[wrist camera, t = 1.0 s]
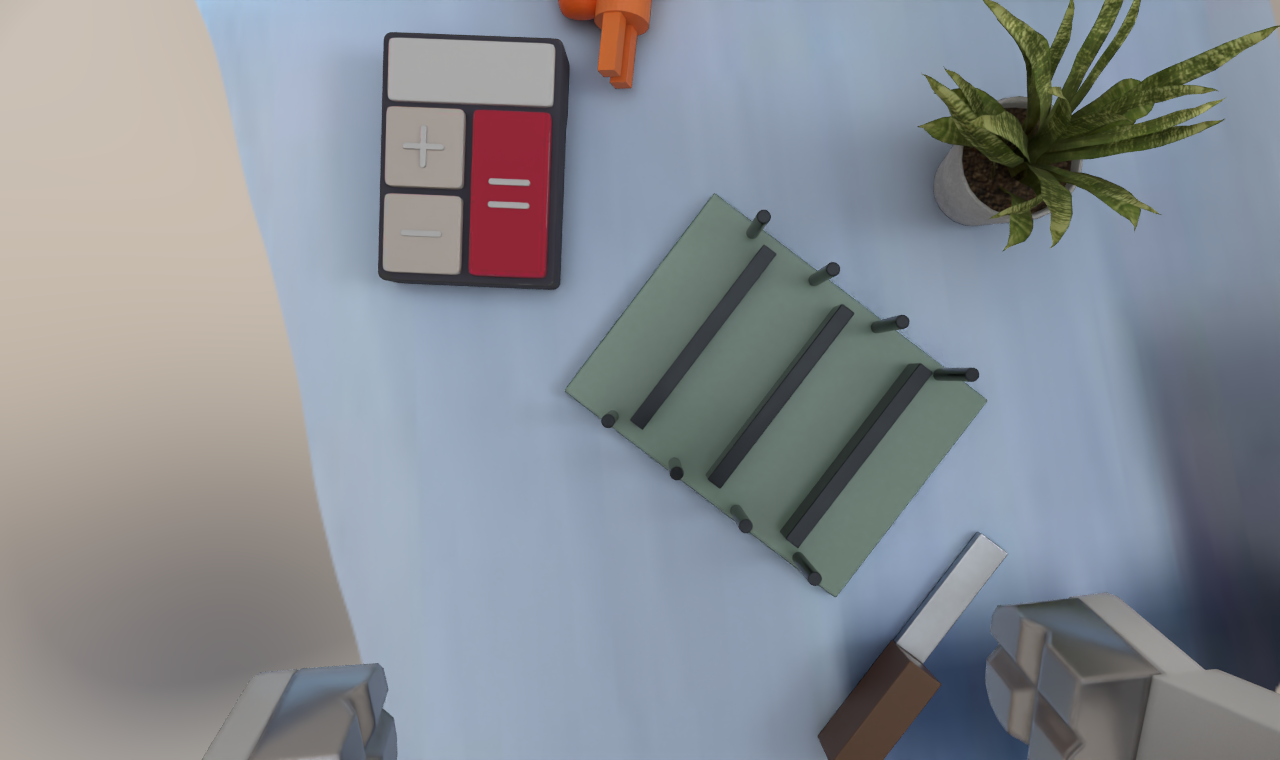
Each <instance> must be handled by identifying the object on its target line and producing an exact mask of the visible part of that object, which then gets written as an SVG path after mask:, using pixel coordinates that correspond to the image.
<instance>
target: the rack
mask: <svg viewBox="0 0 1280 760" xmlns="http://www.w3.org/2000/svg"><path fill="white" fill-rule="evenodd" d="M770 218H771V215H770V213H769V212H768V211H767V210H761V211H759V212H758V214H757V215H756V217H755V218H754V220H753V221H751V220H749V219H748V218H747V217H745V216H744V215H743V214H741V213H740V212H739V211H737V210H736V209H735V208H734V207H732V206H731V205H730V204H728V203H727V202H726V201H724V200H723V199H722V198H720V197H719V196H718V195H716V194H713V196H712V197H711V198H710V199H709V201H708V202H707V203H706V205H705V206H704V207H703V209H702V210H701V211H700V213H699V214H698V215H697V217H696V218H695V219H694V221H693V222H692V223H691V224H690V226H689V227H688V228H687V230H686V231H685V232H684V234H683V235H682V236H681V238H680V239H679V240H678V242H677V243H676V244H675V246H674V247H673V248H672V249H671V251H670V252H669V253H668V255H667V256H666V257H665V259H664V260H663V261H662V263H661V264H660V265H659V267H658V268H657V269H656V271H655V272H654V273H653V274H652V276H651V277H650V278H649V280H648V281H647V282H646V284H645V285H644V286H643V288H642V289H641V290H640V292H639V293H638V294H637V296H636V297H635V298H634V299H633V301H632V302H631V303H630V305H629V306H628V307H627V309H626V310H625V311H624V313H623V314H622V315H621V317H620V318H619V319H618V321H617V322H616V323H615V324H614V326H613V327H612V328H611V330H610V331H609V332H608V334H607V335H606V336H605V338H604V339H603V340H602V342H601V343H600V344H599V346H598V347H597V348H596V349H595V351H594V352H593V353H592V355H591V356H590V357H589V359H588V360H587V361H586V363H585V364H584V365H583V367H582V368H581V369H580V371H579V372H578V373H577V374H576V376H575V377H574V378H573V380H572V381H571V382H570V384H569V385H568V386H567V388H566V389H565V392H566V393H568V394H569V395H570V396H572V397H573V398H574V399H576V400H577V401H578V402H579V403H581V404H582V405H583V406H585V407H586V408H587V409H589V410H590V411H591V412H593V413H594V414H595V415H597V416H598V417H599V418H600V419H601V423H602V425H603V426H604V427H606V428H610V427H612V428H614V429H615V430H616V431H617V432H619V433H620V434H621V435H623V436H624V437H625V438H627V439H628V440H629V441H631V442H632V443H633V444H635V445H636V446H637V447H638V448H640V449H641V450H642V451H644V452H645V453H646V454H648V455H649V456H650V457H652V458H653V459H654V460H655V461H657V462H658V463H659V464H661V465H662V466H663V467H665V468H666V469H667V470H669V471H670V476H671V478H672V479H674V480H682V481H683V482H684V483H686V484H687V485H688V486H690V487H691V488H692V489H693V490H695V491H696V492H697V493H699V494H700V495H701V496H703V497H704V498H705V499H707V500H708V501H709V502H711V503H712V504H713V505H714V506H716V507H717V508H718V509H720V510H721V511H722V512H724V513H725V514H726V515H728V516H729V517H730V518H731V519H733V520H734V521H735V522H736V524H737V525H738V527H739V529H740V530H741V531H742V532H743V533H748V532H750V533H751V534H752V535H754V536H755V537H756V538H758V539H759V540H760V541H762V542H763V543H764V544H766V545H767V546H768V547H769V548H771V549H772V550H773V551H775V552H776V553H777V554H779V555H780V556H781V557H783V558H784V559H785V560H787V561H788V562H789V563H790V564H792V565H793V566H794V567H796V568H797V569H798V570H800V571H801V573H802V574H803V575H804V576H805V578H806V579H807V580H808V582H809V583H810V584H811V585H814V586H816V585H819V586H821V587H822V588H823V589H825V590H826V591H827V592H828V593H830V594H831V595H832V596H834V597H837V595H838V594H839V593H840V592H841V590H842V589H843V588H844V586H845V585H846V584H847V582H848V581H849V580H850V579H851V577H852V576H853V575H854V573H855V572H856V571H857V569H858V568H859V567H860V566H861V564H862V563H863V562H864V560H865V559H866V558H867V556H868V555H869V554H870V553H871V551H872V550H873V549H874V547H875V546H876V545H877V543H878V542H879V541H880V540H881V538H882V537H883V536H884V534H885V533H886V532H887V531H888V529H889V528H890V527H891V525H892V524H893V523H894V521H895V520H896V519H897V518H898V516H899V515H900V514H901V512H902V511H903V510H904V508H905V507H906V506H907V505H908V503H909V502H910V501H911V499H912V498H913V497H914V495H915V494H916V493H917V492H918V490H919V489H920V488H921V486H922V485H923V484H924V483H925V481H926V480H927V479H928V477H929V476H930V475H931V473H932V472H933V471H934V470H935V468H936V467H937V466H938V464H939V463H940V462H941V460H942V459H943V458H944V457H945V455H946V454H947V453H948V451H949V450H950V449H951V447H952V446H953V445H954V444H955V442H956V441H957V440H958V438H959V437H960V436H961V435H962V433H963V432H964V431H965V429H966V428H967V427H968V425H969V424H970V423H971V422H972V420H973V419H974V418H975V416H976V415H977V414H978V412H979V411H980V410H981V409H982V407H983V406H984V405H985V403H986V402H987V399H985V398H984V397H983V396H981V395H980V394H979V393H977V392H976V391H975V390H974V389H972V388H971V387H970V386H968V385H967V384H966V383H964V382H963V381H968V382H973V381H976V380H977V379H978V377H979V372H978V370H977V369H975V368H944V367H943V366H942V365H941V364H939V363H938V362H937V361H935V360H934V359H933V358H931V357H930V356H929V355H927V354H926V353H925V352H923V351H922V350H921V349H919V348H918V347H917V346H915V345H914V344H913V343H912V342H910V341H909V340H908V339H906V338H905V337H904V336H902V335H901V334H900V333H898V332H897V331H896V330H899V329H904V328H906V327H908V325H909V319H908V317H907V316H905V315H899V316H895V317H891V318H887V319H883V320H881V319H880V318H879V317H877V316H876V315H875V314H873V313H872V312H871V311H869V310H868V309H867V308H865V307H864V306H863V305H861V304H860V303H859V302H857V301H856V300H855V299H854V298H852V297H851V296H850V295H848V294H847V293H846V292H844V291H843V290H842V289H840V288H839V287H838V286H836V285H835V284H834V283H832V282H831V281H830V280H829V279H831V278H832V277H834V276H836V275H838V274H839V272H840V267H839V265H838V264H837V263H835V262H831V263H829V264H828V265H826V266H824V267H823V268H821V269H820V270H818V271H817V270H815V269H814V268H813V267H811V266H810V265H809V264H807V263H806V262H805V261H803V260H802V259H801V258H799V257H798V256H797V255H795V254H794V253H793V252H792V251H790V250H789V249H788V248H786V247H785V246H784V245H782V244H781V243H780V242H778V241H777V240H776V239H774V238H773V237H772V236H770V235H769V234H768V233H766V232H765V231H764V230H763V229H764V227H765V226H766V225H767V223H768V222H769V221H770Z"/></svg>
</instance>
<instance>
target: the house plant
mask: <svg viewBox="0 0 1280 760" xmlns="http://www.w3.org/2000/svg"><path fill="white" fill-rule="evenodd" d="M983 1H984V3H985V4H986V5H987V6H988V7H989V8H990V10H991V11H992V12H993V13H994V15H995V16H996V17H997V18H998V19H997V20H998V21H999V22H1000V23H1001V24H1002V25H1003V27H1004V28H1005V29H1006V30H1007V31H1008V32H1009V34H1010V35H1011V36H1012V37H1013V38H1014V40H1015V41H1016V43H1017V44H1018V46H1019V48H1020V50H1021V52H1022V55H1023V57H1024V60H1025V63H1026V70H1027V97H1021V96H1018V97H1011V98H1004V99H1001V100H999V101H996V100H995V99H994V98H993V97H991V96H990V95H989V94H987V93H986V92H984V91H982V90H980V89H978V88H975V87H973V86H972V85H971V84H970V83H968V82H967V81H965V80H964V79H963V78H962V77H961V76H960V75H958V74H957V73H955V72H953V71H949V70H947V69H945V70H946V72H947V73H948V74H949V75H950V77H951V78H952V79H953V80H954V82H955V83H956V84H957V85H958V86H959V88H958V89H952V90H950V89H949V88H947V87H946V86H944V85H942V84H941V83H939V82H938V81H936V80H935V79H933V78H932V77H929V76H927V75H924V74H922V75H924V76H926V78H927V80H928V82H929V84H930V86H931V88H932V89H933V91H934V92H935V94H937V95H938V96H939V97H940V98H941V99H942V101H943V102H944V103H945V104H946V105H947V107H948V109H949V111H950V114H951V117H943V118H940V119H937V120H934V121H931V122H929V123H926V124H924V125H921V126H918V127H921V128H924V129H925V130H926V131H927V132H928V133H929V134H930V135H931V136H932V137H933V138H935V139H937V140H939V141H941V142H945V143H948V144H953V147H952V148H951V150H950V151H949V153H948V154H947V156H946V157H945V158H944V160H943V161H942V163H941V164H940V166H939V167H938V170H937V172H936V175H935V178H934V194H935V199H936V201H937V203H938V206H939V207H940V209H941V210H942V211H943V212H944V214H945V215H946V216H948V217H949V218H950V219H952V220H953V221H955V222H957V223H960V224H963V225H969V226H980V225H990V224H999V223H1009V222H1010V236H1009V240H1008V244H1007V246H1006V247H1005V249H1004V250H1006V249H1007V248H1009V247H1010V246H1013V245H1016V244H1019V243H1021V242H1024V241H1025V240H1026V239H1027V238H1028V237H1029V236H1030V234H1031V232H1032V229H1033V219H1038V218H1040V217H1042V216H1045V215H1047V214H1049V213H1051V225H1050V231H1051V235H1052V240H1053V245H1052V246H1051V248H1052V247H1053V246H1055V245H1056V244H1057V243H1058V242H1059V240H1060V239H1061V237H1062V236H1063V235H1064V233H1065V232H1066V230H1067V229H1068V227H1069V224H1070V221H1071V217H1072V195H1071V193H1072V192H1073V191H1074V189H1075V187H1076V186H1077V187H1080V188H1082V189H1085V190H1087V191H1089V192H1090V193H1092V194H1093V195H1095V196H1096V197H1097V198H1099V199H1100V200H1101V201H1103V202H1104V203H1105V204H1107V205H1108V206H1109V207H1111V208H1112V209H1113V210H1115V211H1116V212H1117V213H1119V214H1120V215H1122V216H1124V217H1125V218H1127V219H1128V220H1130V221H1131V223H1132V224H1133V225H1134V226H1135V229H1136V226H1137V223H1138V219H1139V216H1140V212H1141V209H1140V208H1142V209H1145V210H1148V211H1150V212H1153V213H1156V214H1159V213H1158V212H1156V211H1155V210H1154V209H1152V208H1151V207H1149V206H1148V205H1146V204H1144V203H1142V202H1140V201H1138V200H1137V199H1136V198H1135V197H1134V196H1133V195H1132V194H1131V193H1130V192H1128V191H1127V190H1126V189H1124V188H1122V187H1120V186H1118V185H1116V184H1114V183H1112V182H1109V181H1107V180H1104V179H1102V178H1099V177H1096V176H1092V175H1089V174H1086V173H1081V170H1082V162H1083V159H1094V158H1100V157H1106V156H1111V155H1115V154H1120V153H1126V152H1134V151H1142V150H1147V149H1152V148H1156V147H1160V146H1164V145H1167V144H1170V143H1173V142H1176V141H1178V140H1181V139H1184V138H1186V137H1189V136H1192V135H1194V134H1197V133H1199V132H1201V131H1203V130H1205V129H1207V128H1209V127H1211V126H1213V125H1216V124H1218V123H1220V122H1221V121H1223V120H1224V119H1223V120H1219V121H1206V122H1202V123H1198V124H1194V125H1191V126H1175V125H1178V124H1180V123H1183V122H1185V121H1187V120H1189V119H1192V118H1194V117H1196V116H1198V115H1200V114H1202V113H1204V112H1205V111H1207V110H1209V109H1210V108H1211V107H1213V106H1215V105H1216V104H1218V103H1219V102H1221V101H1222V100H1223V99H1222V100H1217V101H1213V102H1208V103H1206V104H1203V105H1201V106H1198V107H1196V108H1190V109H1185V110H1180V111H1176V112H1173V113H1170V114H1168V115H1165V116H1162V117H1159V118H1156V119H1153V120H1149V121H1146V122H1142V123H1138V124H1134V123H1135V121H1136V120H1137V119H1139V118H1141V117H1144V116H1146V115H1147V114H1148V113H1149V112H1150V111H1151V110H1152V108H1153V106H1154V103H1158V102H1163V101H1166V100H1169V99H1173V98H1176V97H1180V96H1183V95H1187V94H1204V93H1208V92H1211V91H1215V90H1216V89H1213V88H1207V87H1202V86H1197V85H1183V84H1185V83H1187V82H1190V81H1192V80H1194V79H1196V78H1198V77H1201V76H1203V75H1205V74H1207V73H1210V72H1212V71H1214V70H1216V69H1217V68H1219V67H1220V66H1222V65H1223V64H1225V63H1226V62H1228V61H1229V60H1231V59H1232V58H1234V57H1235V56H1236V55H1238V54H1239V53H1241V52H1242V51H1243V50H1245V49H1247V48H1249V47H1251V46H1253V45H1255V44H1256V43H1258V42H1260V41H1262V40H1264V39H1265V38H1266V37H1268V36H1269V35H1270V34H1271V33H1272V32H1273V31H1274V30H1275V29H1276V28H1278V27H1279V26H1274V27H1270V28H1267V29H1264V30H1261V31H1257V32H1254V33H1251V34H1248V35H1245V36H1243V37H1240V38H1238V39H1235V40H1232V41H1229V42H1227V43H1224V44H1222V45H1220V46H1217V47H1215V48H1213V49H1210V50H1208V51H1206V52H1204V53H1201V54H1199V55H1197V56H1194V57H1192V58H1190V59H1188V60H1185V61H1183V62H1180V63H1178V64H1175V65H1173V66H1171V67H1168V68H1166V69H1164V70H1162V71H1160V72H1157V73H1155V74H1153V75H1151V76H1149V77H1147V78H1146V79H1144V80H1143V81H1142V82H1141V81H1139V80H1135V79H1132V78H1130V79H1123V80H1122V81H1120V82H1118V83H1116V84H1115V85H1113V86H1112V87H1111V88H1110V89H1109V90H1107V91H1106V92H1105V93H1104V94H1102V95H1101V96H1100V97H1099V98H1097V99H1096V100H1094V101H1093V102H1091V103H1090V104H1088V105H1086V106H1085V107H1083V108H1082V109H1080V110H1079V111H1077V112H1076V113H1074V114H1073V115H1071V114H1072V112H1073V111H1074V110H1075V109H1076V107H1077V106H1078V105H1079V104H1080V102H1081V101H1082V100H1083V98H1084V97H1085V96H1086V94H1087V93H1088V91H1089V90H1090V88H1091V87H1092V85H1093V84H1094V82H1095V81H1096V79H1097V78H1098V76H1099V75H1100V74H1101V72H1102V71H1103V69H1104V68H1105V67H1106V65H1107V64H1108V63H1109V61H1110V60H1111V59H1112V57H1113V56H1114V55H1115V53H1116V52H1117V50H1118V49H1119V48H1120V46H1121V45H1122V43H1123V42H1124V41H1125V39H1126V38H1127V36H1128V34H1129V33H1130V31H1131V29H1132V28H1133V26H1134V24H1135V21H1136V18H1137V15H1138V12H1139V6H1140V2H1141V0H1134V1H1133V3H1132V6H1131V8H1130V10H1129V12H1128V14H1127V16H1126V18H1125V20H1124V22H1123V24H1122V26H1121V27H1120V29H1119V31H1118V33H1117V35H1116V36H1115V38H1114V39H1113V41H1112V42H1111V43H1110V45H1109V46H1108V48H1107V49H1106V50H1105V52H1104V53H1103V54H1102V56H1101V57H1100V59H1099V60H1098V62H1097V63H1096V65H1095V66H1094V68H1093V69H1092V71H1091V73H1090V74H1089V76H1088V77H1087V79H1086V80H1085V81H1084V83H1083V84H1082V86H1081V87H1080V89H1079V86H1080V84H1081V82H1082V80H1083V78H1084V76H1085V74H1086V72H1087V70H1088V68H1089V67H1090V65H1091V63H1092V61H1093V60H1094V58H1095V56H1096V55H1097V53H1098V51H1099V49H1100V48H1101V46H1102V44H1103V42H1104V41H1105V39H1106V37H1107V35H1108V33H1109V32H1110V30H1111V28H1112V26H1113V24H1114V22H1115V19H1116V17H1117V15H1118V13H1119V10H1120V8H1121V6H1122V3H1123V0H1105V2H1104V4H1103V6H1102V9H1101V11H1100V13H1099V16H1098V18H1097V20H1096V22H1095V24H1094V26H1093V28H1092V29H1091V31H1090V33H1089V35H1088V36H1087V38H1086V40H1085V42H1084V43H1083V45H1082V47H1081V49H1080V50H1079V52H1078V54H1077V56H1076V59H1075V61H1074V64H1073V67H1072V69H1071V72H1070V74H1069V76H1068V78H1067V80H1066V82H1065V84H1064V86H1063V88H1062V90H1061V87H1051V80H1052V77H1053V75H1054V73H1055V70H1056V68H1057V66H1058V64H1059V62H1060V60H1061V58H1062V56H1063V53H1064V51H1065V49H1066V47H1067V45H1068V43H1069V41H1070V36H1071V30H1072V20H1073V15H1074V2H1073V0H1070V3H1069V6H1068V8H1067V11H1066V13H1065V16H1064V19H1063V21H1062V23H1061V26H1060V28H1059V30H1058V32H1057V35H1056V37H1055V39H1054V41H1053V43H1052V45H1051V48H1049V44H1048V41H1047V40H1046V39H1045V37H1044V36H1043V35H1041V34H1039V33H1038V32H1036V31H1035V30H1034V29H1032V28H1031V27H1030V26H1028V25H1027V24H1026V23H1025V22H1023V21H1021V20H1020V19H1018V18H1016V17H1015V16H1013V15H1012V14H1011V13H1010V12H1009V11H1007V10H1006V9H1005V8H1004V7H1002V6H1001V5H999V4H998V3H996V2H993V1H991V0H983ZM944 68H945V67H944ZM1078 89H1079V90H1078ZM1216 91H1218V90H1216ZM1076 92H1077V93H1076ZM1052 95H1055V96H1058V98H1057V100H1056V102H1055V104H1054V106H1053V105H1052V104H1051V103H1052ZM1224 99H1225V98H1224ZM1173 126H1175V127H1173ZM1159 215H1161V214H1159ZM1135 229H1134V231H1135ZM1004 250H1003V251H1004Z"/></svg>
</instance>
